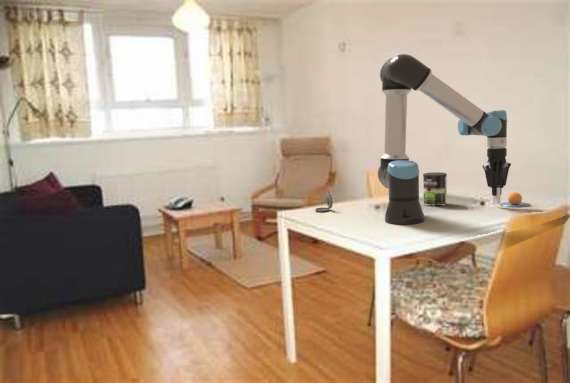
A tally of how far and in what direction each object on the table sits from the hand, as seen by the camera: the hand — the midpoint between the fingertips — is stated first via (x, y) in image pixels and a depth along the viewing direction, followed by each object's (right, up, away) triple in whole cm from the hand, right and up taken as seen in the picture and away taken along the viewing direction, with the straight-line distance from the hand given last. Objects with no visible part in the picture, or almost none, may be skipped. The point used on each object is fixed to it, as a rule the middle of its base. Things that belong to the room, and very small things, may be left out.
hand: (496, 203), depth 208 cm
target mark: (+9, -1, +3) cm, 10 cm away
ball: (+9, +2, +3) cm, 10 cm away
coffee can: (-21, -1, +16) cm, 27 cm away
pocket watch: (-72, -4, +16) cm, 74 cm away
